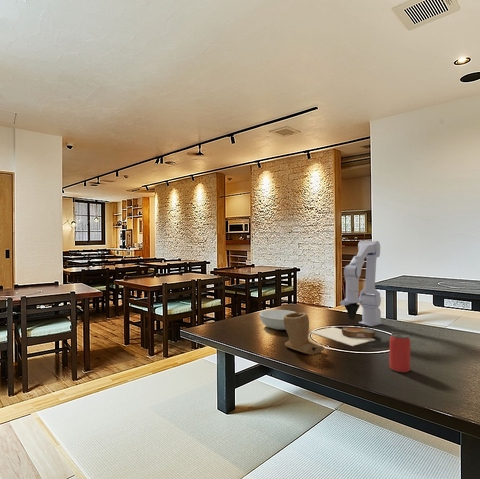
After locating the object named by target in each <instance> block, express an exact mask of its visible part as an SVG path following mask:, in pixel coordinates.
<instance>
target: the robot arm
mask: <svg viewBox="0 0 480 479" xmlns="http://www.w3.org/2000/svg"><path fill="white" fill-rule="evenodd" d="M357 249H358V252H357V254H356V255H354V256H353V257H352V259H351V261H350V263H349V264H347V265H345V266H344V268H343V274H344V276H343V277H344V281H345V298H344V299H343V300H340V302H339V305H340V306H341V307H342V306H343V307H345V310H346V312H347V316H348V319H349V320H351V321H355V319H356V314H357V312H358V309H359V308H360V306H361V307H362V311H361V312H362V313H361V314H362V315H361V318H362V320H361V321H358V324H361V325H365V326H369V327H374V326H379V325H383V322H381V319H382V318H381V317H382V315H381V314H382V313H381V312H382V311H381V309H380V307H381V303H382V300H381V293H380V291H379V290H377V289H376V270H377V258H380V255H381V244H380V241H379V240H359V242H358V244H357ZM365 259H366V264H365ZM364 265H365V283H364V284H365V286H364V288H363V289H361V291H360V292H359V290H360V289H359V285H360V284H359V283H360V282H359V281H360V277H361V275H362V274H361V273H362V268H363V266H364Z"/></svg>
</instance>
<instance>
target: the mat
mask: <svg viewBox="0 0 480 479" xmlns="http://www.w3.org/2000/svg"><path fill="white" fill-rule="evenodd" d="M310 334H313V335H316V336H320V337H323V338H326V339H327V340H332V341H335V342H338V343H341V344H344V345H347V346H350V347H355V346H359V345H363V344H366V343H369V342H374V341H376V339H375V338H374V337H373V338H360V337H348V336H345V335H343V334H342V328H338V327H334V326H333V327H332V326H331V327H326V328H322V329H317V330H313V331H310Z"/></svg>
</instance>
